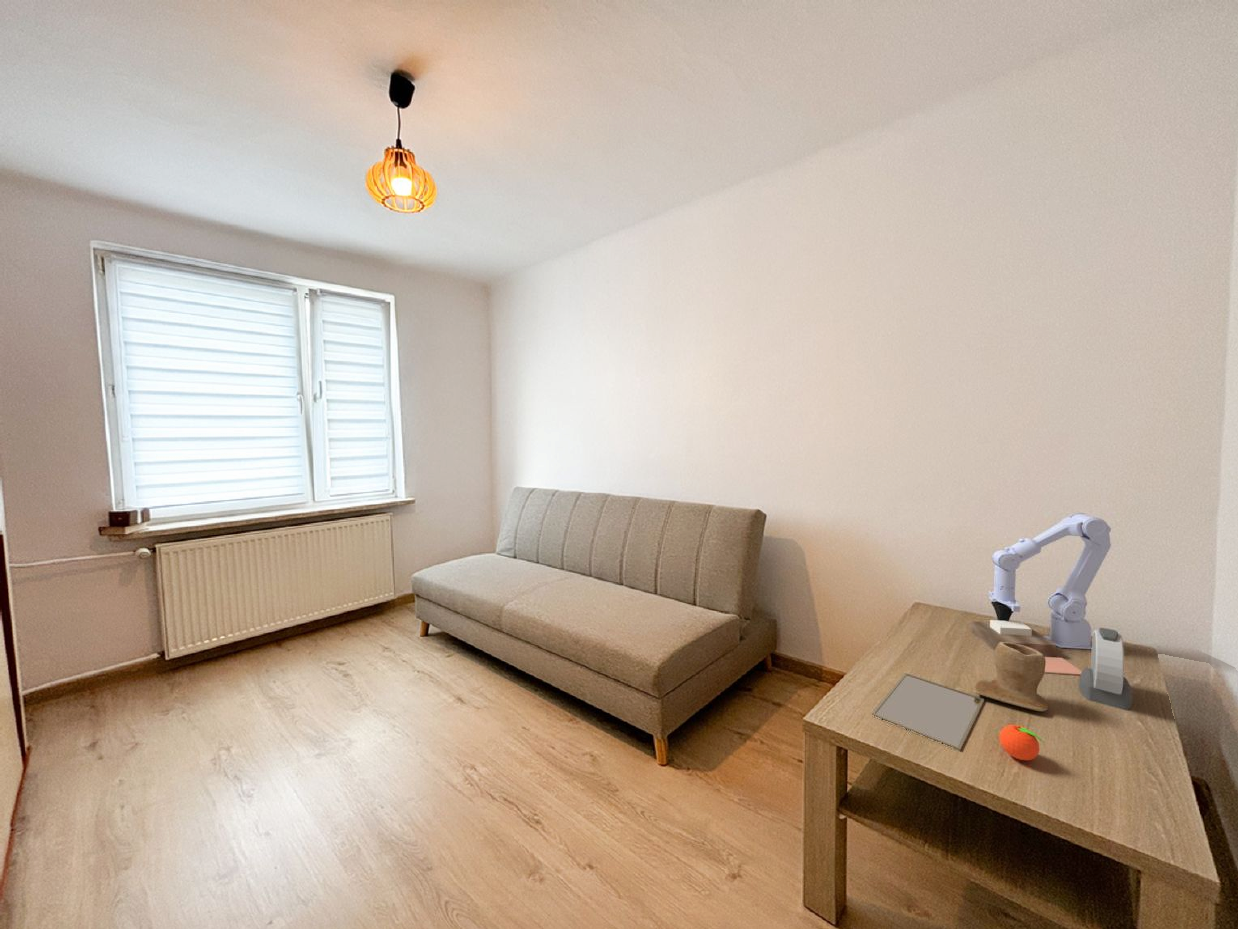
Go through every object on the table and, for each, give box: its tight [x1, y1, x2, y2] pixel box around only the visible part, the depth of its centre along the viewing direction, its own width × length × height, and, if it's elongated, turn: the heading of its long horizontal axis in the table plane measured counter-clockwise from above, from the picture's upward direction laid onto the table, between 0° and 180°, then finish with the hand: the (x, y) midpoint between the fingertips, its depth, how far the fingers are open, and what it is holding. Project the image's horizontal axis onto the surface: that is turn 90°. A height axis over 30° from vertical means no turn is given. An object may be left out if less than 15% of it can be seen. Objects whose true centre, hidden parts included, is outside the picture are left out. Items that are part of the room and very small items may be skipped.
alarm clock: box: [1078, 627, 1134, 711], centre depth 128 cm, size 16×10×18 cm, turn 137°
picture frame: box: [870, 672, 985, 752], centre depth 125 cm, size 19×1×28 cm
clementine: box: [998, 724, 1047, 761], centre depth 106 cm, size 8×7×7 cm
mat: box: [1044, 657, 1083, 676], centre depth 144 cm, size 18×10×1 cm, turn 78°
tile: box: [989, 619, 1032, 636], centre depth 159 cm, size 9×6×2 cm, turn 78°
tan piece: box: [973, 642, 1049, 712], centre depth 127 cm, size 15×12×15 cm
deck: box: [971, 621, 1057, 658], centre depth 158 cm, size 16×16×4 cm
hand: (1002, 623), depth 163 cm, fingers closed
